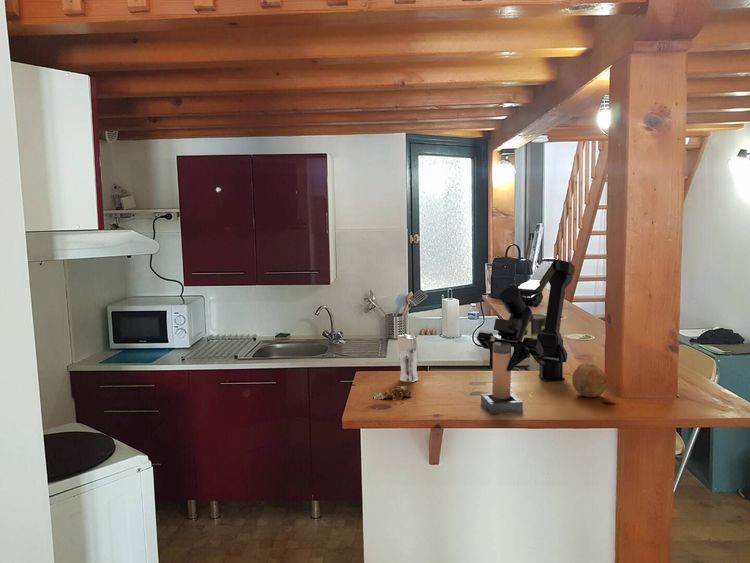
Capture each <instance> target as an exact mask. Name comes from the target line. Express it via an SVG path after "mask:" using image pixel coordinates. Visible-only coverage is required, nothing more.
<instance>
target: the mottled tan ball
mask: <svg viewBox="0 0 750 563" xmlns="http://www.w3.org/2000/svg"><path fill="white" fill-rule="evenodd" d="M571 378H572V379H571V380H572V384H573V387H574V390H575V391H576V392H577V393H578V394H579V395H581V396H583V397H586V398H595V397H599V396H601V395H602V394H603V393H604V392H605V391H606V389H607V387H608V377H607V374H606V373H605V371H604V370H603V368H601V367H600V366H599V365H596V364H594V363H589V362H588V363H582V364H579V365H578V366H577V367H576V369H575V370H574V372H573V373H572V377H571Z"/></svg>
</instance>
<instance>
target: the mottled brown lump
mask: <svg viewBox="0 0 750 563" xmlns="http://www.w3.org/2000/svg"><path fill="white" fill-rule="evenodd" d="M412 395H413V393H412V390H410V391H409V388H408V386H407V385H403V386H402V385H401V386H398V385H397V386H394V387H393V388H392V389H386V390H384V391H382V392H376V393H375V394H374V395H373V396H374V398H380V399H381V398H382V400H383V399H388V398H392V399H400V400H402V399H403V397H404V396H406V397H408V398H410V397H411V396H412Z"/></svg>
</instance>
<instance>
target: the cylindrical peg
mask: <svg viewBox="0 0 750 563" xmlns="http://www.w3.org/2000/svg"><path fill="white" fill-rule="evenodd" d="M511 357H512V347H511V344H510V343H506V342H496V343H493V368H492V382H491V383H492V386H491V387H492V391H491V393H492V396H493V397H495V398H499V399H506V398H509V397H510V392H511V381H512V379H511V376H512V373H511V372H512V370H510V371H507V367H508V364H509V361H510V359H511Z"/></svg>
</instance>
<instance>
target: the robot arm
mask: <svg viewBox="0 0 750 563" xmlns="http://www.w3.org/2000/svg"><path fill="white" fill-rule="evenodd" d="M575 271H576V268H575V265H574V264H573V263H572V261H569V260H562V259H559V258H557V257H543V258H542V259H541V261H540V265H539V266H538V267H537V269H536V270H535V271H534V273H533V274H532V276H531V278H530V279H528V280H527V281H526V282H523V283H521V284H520V285H519V286H518V284H510V285H509V287H507V288H505V289H504V290H502V291H501V292H500V294H499V299H500V302H501V304H502V305H503V306H504V309H505V310H506V312H507V313H509V317H508V318H507V319H506V318H505V319H503V318H495V320H494V325H493V331H496V332H497V335H498V336H499V337H500V338H499V337H496V336H495V335H494V334H493V332H489V331H479V332H478V333H477V335H476V340H477V341H478V342H479V344H480V345H481V347H482V348H483V349H485V350H489V367H490V369H493V343H496V342H506V343H510V344H511V348H513V352H512V353H511V359H510V361H509V364H508V367H507V371H510V370H511V371H512V370H513V369H514V368H515V367H516V366H517V365H519V364H520V363H521V362H523V361H524V360H526V359H530V358H531V356H532V357H536V360H539V361H540V363H539V367H538V368H539V369H538V370H539V371H538V372H539V374H538V376H539V377H540V378H541V379H542V380H544V381H545V382H553V381H554V382H556V381H564V380H565V379H566V378H565V377H564V374H563V373H564V367H563V365H564V363H567V360H568V351H567V350H566V348H565V346H564V339H563V337H562V335H561V333H560V330H561V329H560V328H561V322H562V315H563V310H564V309H563V308H564V300H565V295H566V288H568V286H569V285H570V284H571V283H572V281H573V276H574V275H575ZM548 283H549V285H550V288H549V294H548V299H547V300H548V301H547V307H546V313H545V314H546V315H545V316H546V320H545V327H544V330H543V331H542V332H541V333H538V335H537V339H535V338H528V337H526V338H524V340H523V342H522V339H523V336H524V335H527V331H526V328H527V326H528V323H529V321H530V319H531V320H533V314H534V313H533V311H532V309H531V308H538V307H539V306H540V305H541V304H542V301H543V298H544V295H543V290H545V288H546V286H547V284H548ZM529 354H531V355H529Z"/></svg>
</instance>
